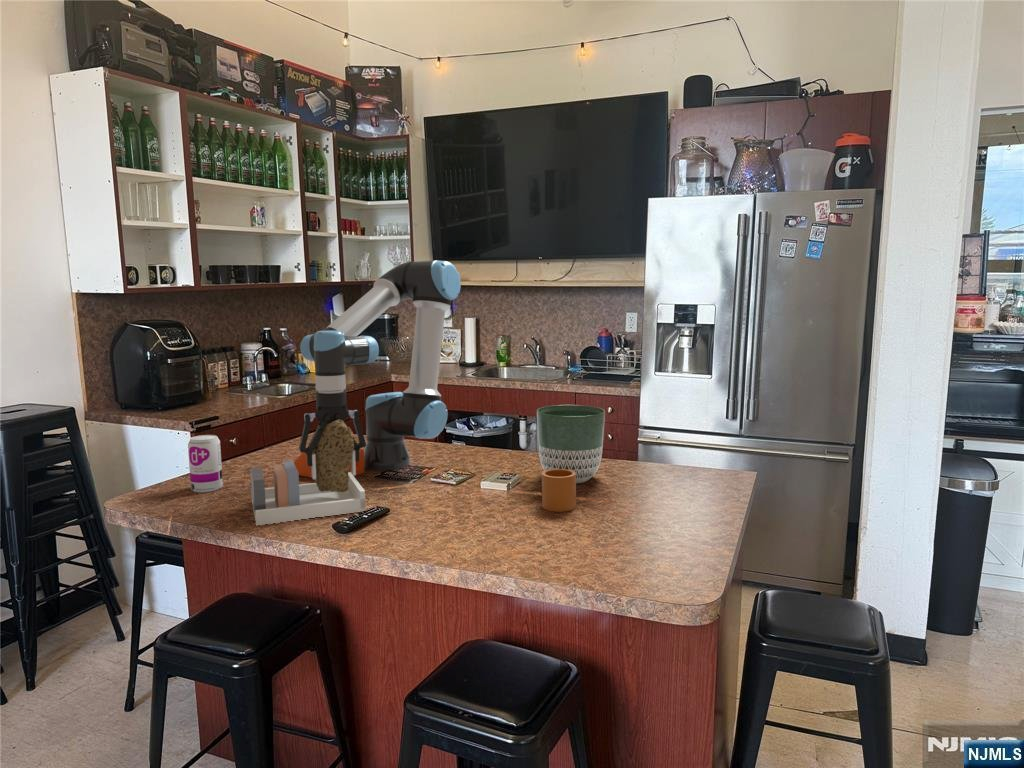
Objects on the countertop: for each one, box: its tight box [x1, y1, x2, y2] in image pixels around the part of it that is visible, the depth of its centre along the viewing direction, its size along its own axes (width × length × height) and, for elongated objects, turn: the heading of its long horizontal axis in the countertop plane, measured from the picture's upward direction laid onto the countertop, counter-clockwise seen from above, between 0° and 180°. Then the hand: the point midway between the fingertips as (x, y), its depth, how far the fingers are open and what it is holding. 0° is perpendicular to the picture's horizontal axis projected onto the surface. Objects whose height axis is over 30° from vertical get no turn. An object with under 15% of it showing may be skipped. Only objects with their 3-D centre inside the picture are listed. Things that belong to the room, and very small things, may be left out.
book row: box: [272, 460, 300, 508], centre depth 176 cm, size 5×13×10 cm, turn 23°
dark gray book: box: [250, 466, 266, 513], centre depth 173 cm, size 2×14×9 cm, turn 23°
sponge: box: [313, 419, 355, 492], centre depth 180 cm, size 13×8×20 cm, turn 59°
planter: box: [536, 404, 606, 485], centre depth 199 cm, size 20×20×21 cm
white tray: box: [250, 472, 366, 527], centre depth 178 cm, size 26×20×6 cm
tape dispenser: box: [293, 448, 365, 479], centre depth 208 cm, size 18×13×8 cm
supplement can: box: [187, 434, 223, 494], centre depth 193 cm, size 8×8×15 cm
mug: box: [541, 469, 577, 513], centre depth 179 cm, size 9×12×9 cm
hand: (334, 475), depth 180 cm, fingers closed on sponge, 9 cm apart
